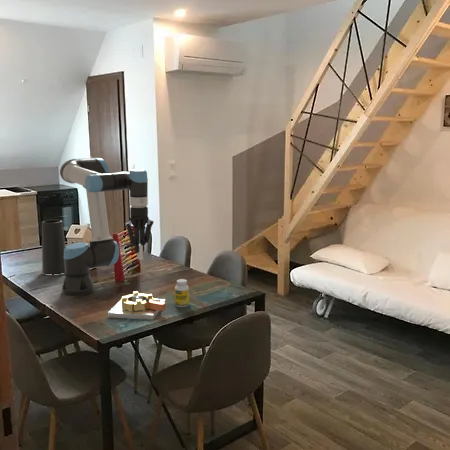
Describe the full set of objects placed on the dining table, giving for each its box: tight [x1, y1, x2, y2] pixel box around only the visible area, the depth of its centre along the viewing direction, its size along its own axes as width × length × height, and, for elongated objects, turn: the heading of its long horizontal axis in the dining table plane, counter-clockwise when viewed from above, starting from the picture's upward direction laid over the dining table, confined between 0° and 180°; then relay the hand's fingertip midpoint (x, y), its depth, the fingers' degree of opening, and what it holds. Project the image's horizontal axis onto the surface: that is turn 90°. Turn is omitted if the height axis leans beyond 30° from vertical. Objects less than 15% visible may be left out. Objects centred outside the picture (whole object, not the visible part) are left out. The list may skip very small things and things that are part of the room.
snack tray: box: [120, 290, 166, 312], centre depth 224 cm, size 21×13×4 cm, turn 62°
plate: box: [107, 295, 166, 321], centre depth 226 cm, size 21×20×6 cm
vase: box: [41, 219, 67, 275], centre depth 281 cm, size 14×14×29 cm
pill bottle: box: [174, 278, 190, 308], centre depth 232 cm, size 6×6×12 cm
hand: (140, 259), depth 224 cm, fingers closed
